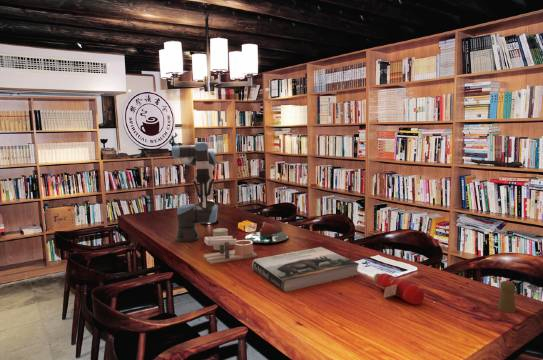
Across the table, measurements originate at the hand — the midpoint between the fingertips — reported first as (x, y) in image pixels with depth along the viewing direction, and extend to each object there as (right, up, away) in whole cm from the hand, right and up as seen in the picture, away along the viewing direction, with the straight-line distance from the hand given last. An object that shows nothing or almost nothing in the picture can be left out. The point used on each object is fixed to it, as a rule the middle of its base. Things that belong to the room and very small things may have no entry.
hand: (204, 207), depth 239 cm
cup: (+24, -26, -8) cm, 36 cm away
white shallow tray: (+10, -19, -11) cm, 24 cm away
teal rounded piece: (+37, -23, +24) cm, 50 cm away
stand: (+17, -28, -11) cm, 34 cm away
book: (+57, -31, -39) cm, 76 cm away
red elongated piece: (+93, -33, -70) cm, 121 cm away
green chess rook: (+132, -34, -85) cm, 160 cm away
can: (+9, -26, +6) cm, 28 cm away
